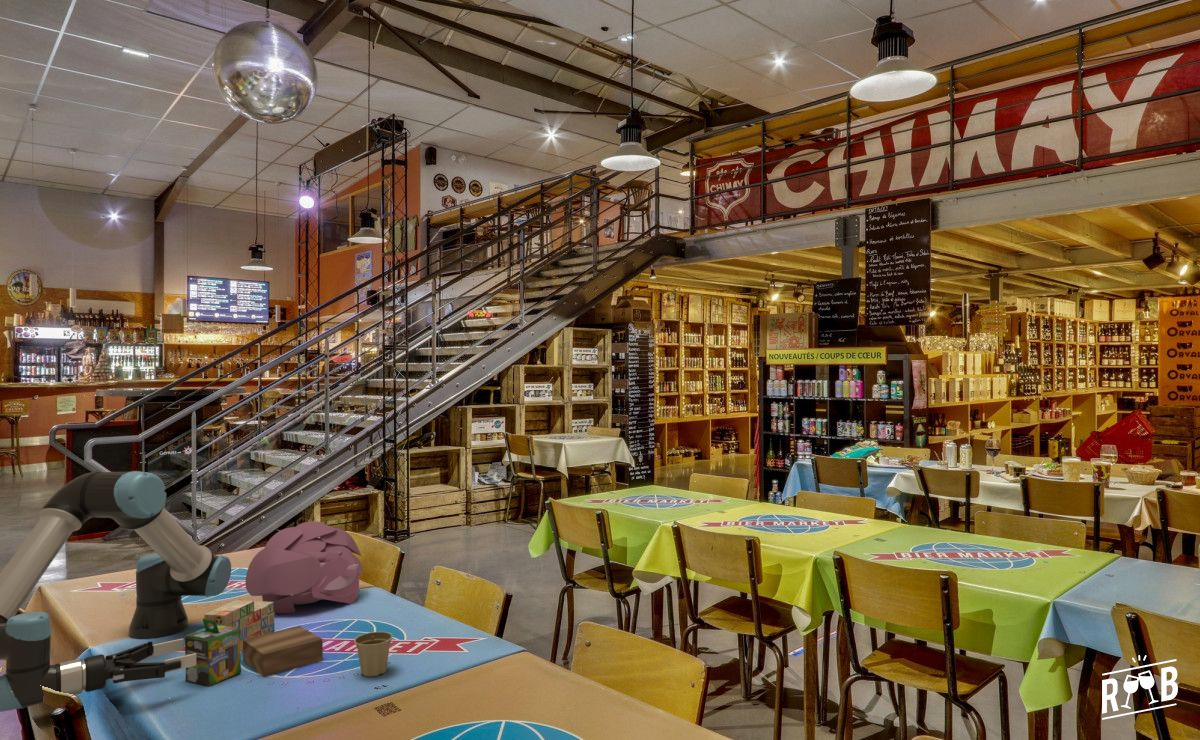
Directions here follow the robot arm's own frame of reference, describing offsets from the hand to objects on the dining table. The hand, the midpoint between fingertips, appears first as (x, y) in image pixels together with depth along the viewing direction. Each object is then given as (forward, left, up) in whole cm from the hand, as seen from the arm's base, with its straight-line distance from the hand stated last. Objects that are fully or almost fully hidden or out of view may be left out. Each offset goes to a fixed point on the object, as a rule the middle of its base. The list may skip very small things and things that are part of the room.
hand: (189, 651), depth 175 cm
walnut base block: (+1, +22, -8) cm, 23 cm away
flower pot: (+25, +36, -8) cm, 45 cm away
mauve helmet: (-44, +46, -8) cm, 64 cm away
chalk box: (0, +5, -8) cm, 10 cm away
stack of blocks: (-20, +17, -8) cm, 27 cm away
